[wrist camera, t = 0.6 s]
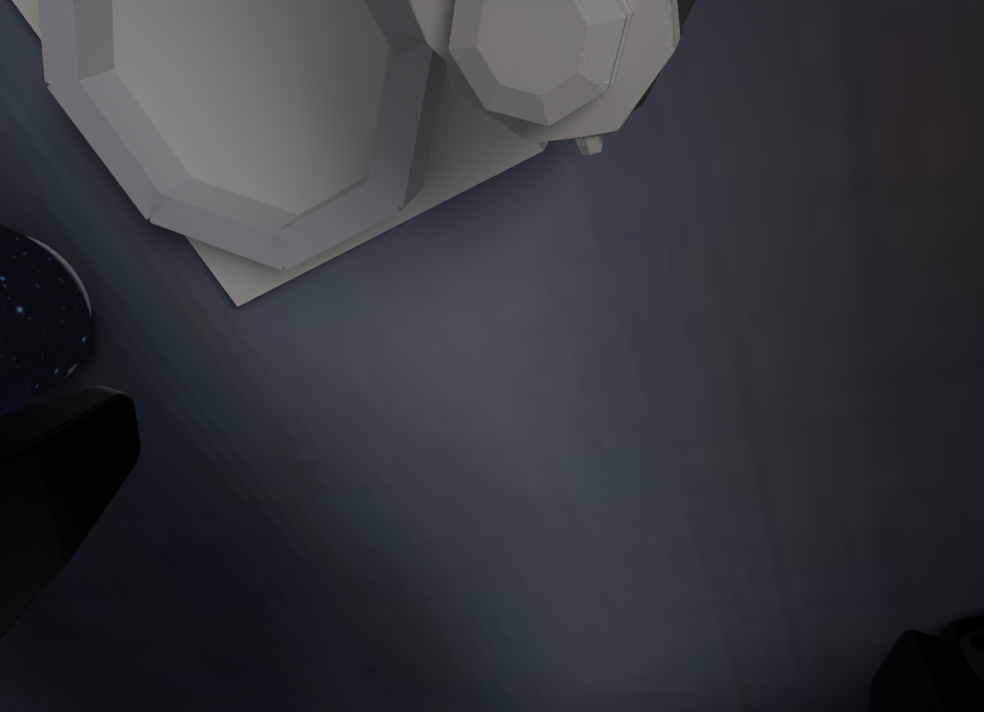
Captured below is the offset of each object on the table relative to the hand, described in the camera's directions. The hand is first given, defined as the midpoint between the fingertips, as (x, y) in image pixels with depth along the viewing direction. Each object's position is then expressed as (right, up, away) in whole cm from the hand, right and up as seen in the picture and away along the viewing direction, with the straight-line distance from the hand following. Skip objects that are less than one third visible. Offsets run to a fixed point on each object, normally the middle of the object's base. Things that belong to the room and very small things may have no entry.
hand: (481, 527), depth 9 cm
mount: (-6, +10, +11) cm, 16 cm away
